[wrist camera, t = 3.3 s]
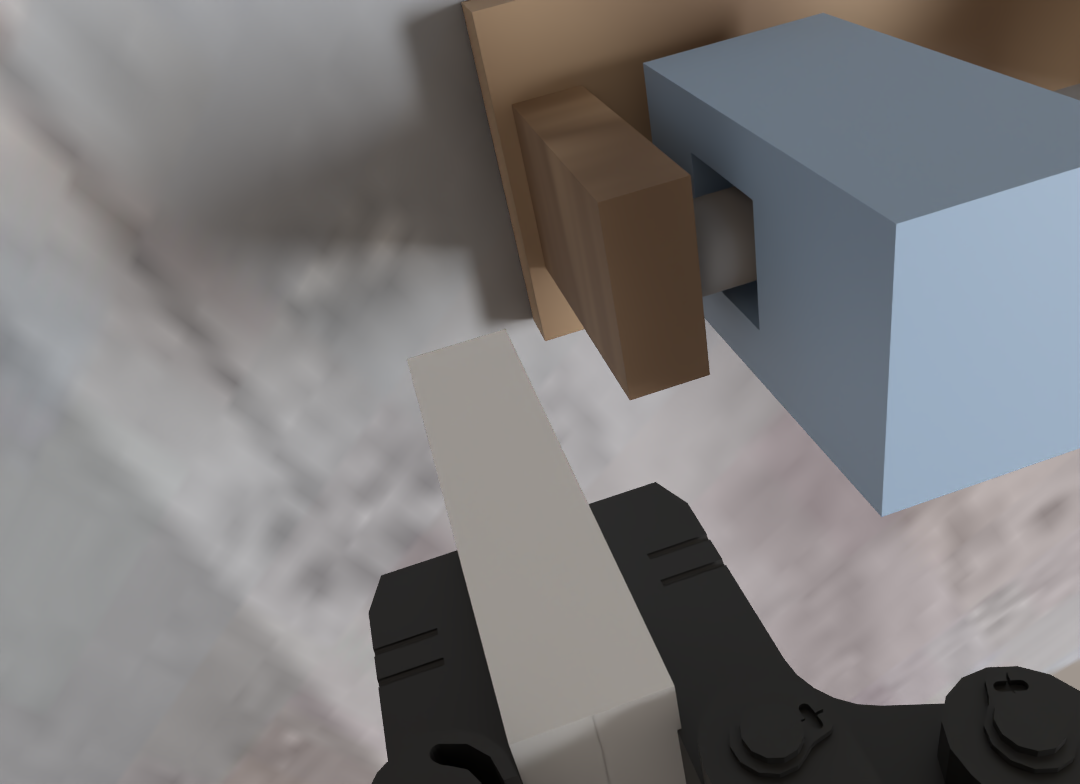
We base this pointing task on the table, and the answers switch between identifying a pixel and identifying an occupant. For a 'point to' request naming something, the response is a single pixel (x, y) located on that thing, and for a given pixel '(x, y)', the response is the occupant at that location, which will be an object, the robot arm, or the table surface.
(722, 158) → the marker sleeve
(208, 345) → the table surface
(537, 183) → the sliding block fixture
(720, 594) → the robot arm
